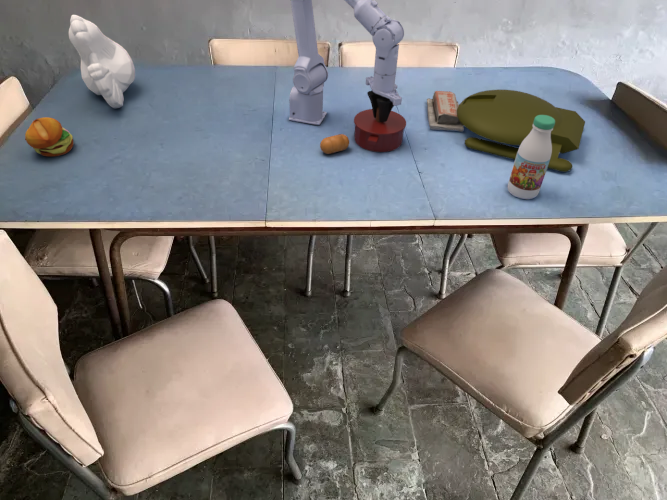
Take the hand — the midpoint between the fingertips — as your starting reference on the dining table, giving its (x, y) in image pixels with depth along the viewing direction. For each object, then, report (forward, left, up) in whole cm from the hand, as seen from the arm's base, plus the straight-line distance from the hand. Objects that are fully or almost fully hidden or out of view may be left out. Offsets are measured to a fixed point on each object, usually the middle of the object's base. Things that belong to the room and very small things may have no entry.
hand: (380, 119), depth 150 cm
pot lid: (0, 0, -1) cm, 1 cm away
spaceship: (+37, +16, -7) cm, 41 cm away
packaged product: (+16, +20, -7) cm, 26 cm away
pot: (0, 0, -6) cm, 6 cm away
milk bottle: (+40, -13, -7) cm, 43 cm away
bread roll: (-10, -10, -6) cm, 15 cm away
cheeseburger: (-80, -34, -7) cm, 87 cm away
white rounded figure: (-84, -3, -7) cm, 84 cm away
